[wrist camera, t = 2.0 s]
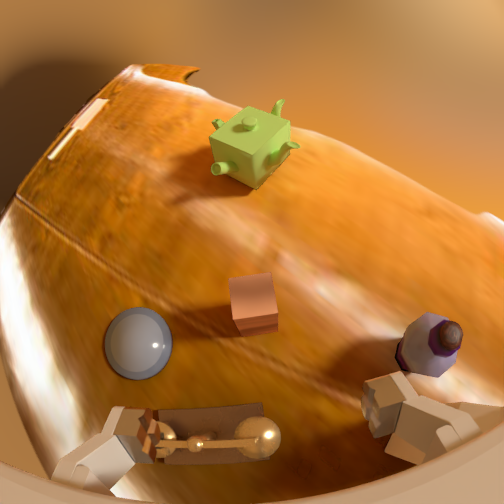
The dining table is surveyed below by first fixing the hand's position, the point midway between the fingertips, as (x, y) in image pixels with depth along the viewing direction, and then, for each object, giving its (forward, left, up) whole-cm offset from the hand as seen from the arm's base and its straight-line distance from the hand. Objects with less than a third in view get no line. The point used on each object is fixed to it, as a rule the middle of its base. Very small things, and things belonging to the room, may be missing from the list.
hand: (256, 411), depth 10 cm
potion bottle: (+2, -21, -30) cm, 36 cm away
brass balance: (-4, +8, -29) cm, 31 cm away
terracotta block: (+12, 0, -29) cm, 32 cm away
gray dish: (+10, +18, -29) cm, 36 cm away
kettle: (+40, -4, -30) cm, 50 cm away
